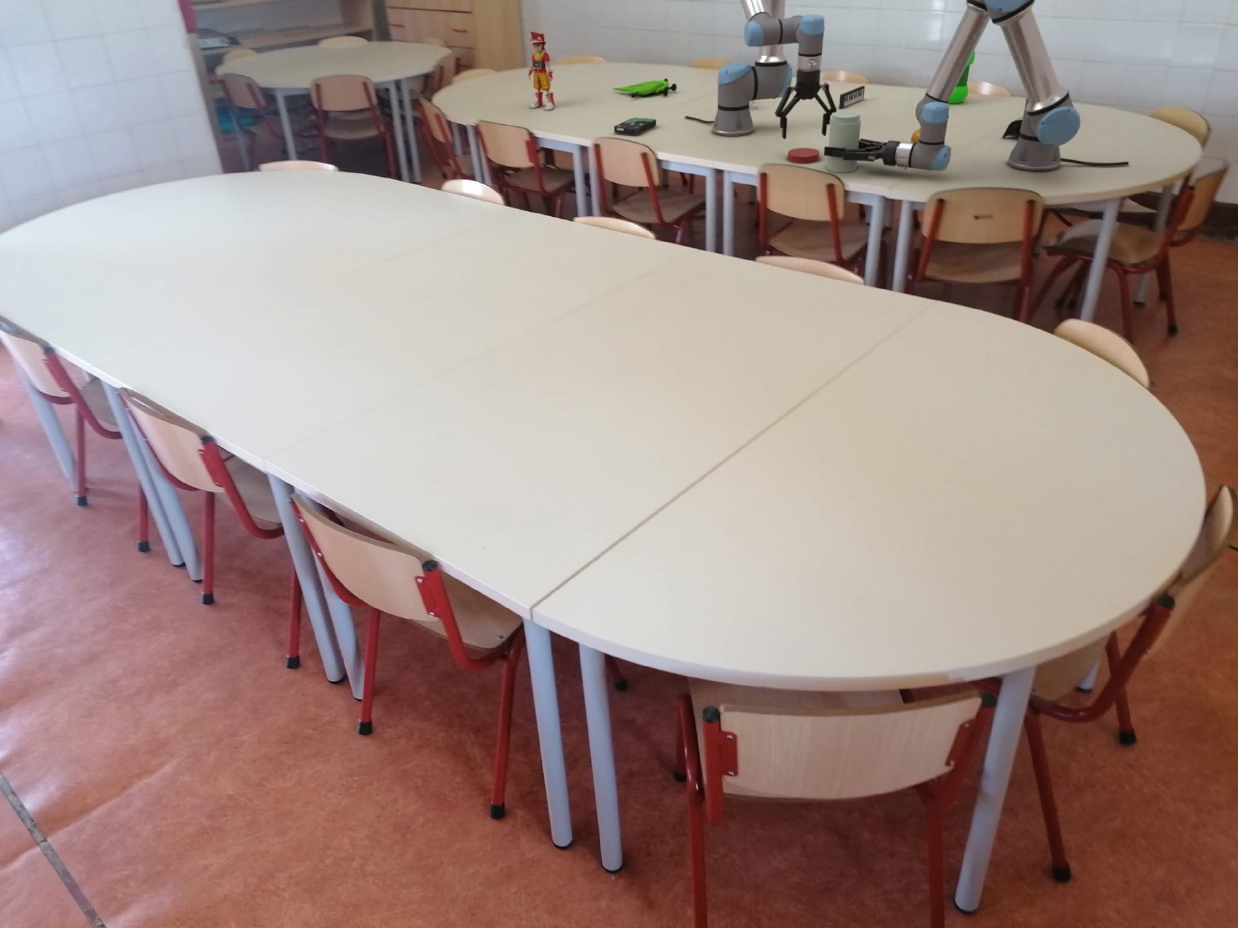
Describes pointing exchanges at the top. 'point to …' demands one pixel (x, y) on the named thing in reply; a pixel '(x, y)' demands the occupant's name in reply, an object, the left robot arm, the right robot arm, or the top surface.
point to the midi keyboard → (851, 96)
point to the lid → (803, 155)
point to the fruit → (916, 136)
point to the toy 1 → (541, 71)
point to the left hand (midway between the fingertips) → (803, 136)
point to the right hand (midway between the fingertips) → (830, 147)
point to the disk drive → (635, 126)
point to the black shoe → (1014, 128)
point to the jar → (844, 139)
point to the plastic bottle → (962, 84)
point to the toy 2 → (648, 88)
